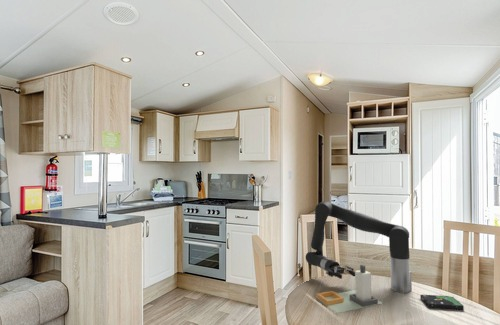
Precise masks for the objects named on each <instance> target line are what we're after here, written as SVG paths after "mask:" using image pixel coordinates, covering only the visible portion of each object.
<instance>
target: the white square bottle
mask: <svg viewBox="0 0 500 325" xmlns="http://www.w3.org/2000/svg"><path fill="white" fill-rule="evenodd" d="M354 272H355V276H354V277H355V278H354V281H355V284H354V286H355V290H356V298H358V299H360V300H361V301H366V300H371V296H372V273H371V272H370V271H367V270H366V265H364V264H360V265H359V270H355V271H354Z"/></svg>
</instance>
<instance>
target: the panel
mask: <svg viewBox="0 0 500 325" xmlns="http://www.w3.org/2000/svg"><path fill="white" fill-rule="evenodd" d="M315 299H316V301H317V302H320V303H321V305H323V304H324V305H323V306H325V308H327V309H329V311H331V312H333V314H334V315H336V314H340V313H344V312H348V311H353V310H357V309H361V308H362V309H363V308H367V307H373V306H375V305H381V304H383V302H382V301H380V300H379V299H378V298H376V297H374V296H373V295H371V300H366V301H361V300H360V299H358V298H356V289H353V290H349V291H342V292H335V291H333V290H330V291H329V290H328V291H324V292H319V293H317V294H316V297H315ZM330 309H331V310H330ZM334 312H335V313H336V314H335V313H334Z"/></svg>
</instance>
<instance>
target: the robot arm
mask: <svg viewBox="0 0 500 325" xmlns="http://www.w3.org/2000/svg"><path fill="white" fill-rule="evenodd" d="M328 217H330V218H334V219H338V220H339V221H342V222H343V223H345V224H346V225H348V226H349V227H351V228H353V229H356V230H359V231H362V232H365V233H372V234H379V235H382V236H384V237H387V238H388V242H389V244H388V245H389V247H388V248H389V257H390V258H389V259H390V261H389V262H390V264H389V265H390V289H391V290H392V291H395V292H397V293H402V294H406V293H410V292H411V291H412V290H413V288H412V272H411V271H410V270H411V268H410V265H411V264H410V258H411V257H410V232H409V230H408V228H406V227H404V226H403V225H399V224H394V223H391V222H387V221H383V220H380V219H378V218H375V217H372V216H370V215H367V214H364V213H361V212H358V211H355V210H352V209H349V208H348V209H347V208H344V207H341V206H339V205H337V204H335V203H333V202H330V201H327V200H324V201H321V202H319V203H317V204H316V206H315V209H314V227H313V232H312V238H311V243H310V247H311V249H312V250H315V251H308V252H307V253H306V254H305V261H306V263H308V265H311V266H315V267H318V268H320V269H322V270H323V271H325V274H326V275H328V276H329V277H331V278H333V277H336V278H338V279H343V275H351V276H352V277H355V271H354V268H353V267H351V266H348V265H345V266H342V265H341V264H340V263H339V262H338V261H336V260H334V259H332V258H329V257H327V256H325V255H324V253H323V252H324V251H323V250H324V249H323V246H324V241H325V226H326V222H327V219H328Z"/></svg>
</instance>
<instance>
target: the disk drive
mask: <svg viewBox="0 0 500 325" xmlns="http://www.w3.org/2000/svg"><path fill="white" fill-rule="evenodd" d="M419 296H420V297H419V298H420V300H421V301H422V302H423V304H424V305H425V306H426V307H427V308H428V309H433V310H434V309H435V310H450V311H461V312H462V311H464V310H465V306H464V305H463V303H461V302H460V301H459V300H457V298H455V297H454V296H449V295H437V294H436V295H435V294H420V295H419Z"/></svg>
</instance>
